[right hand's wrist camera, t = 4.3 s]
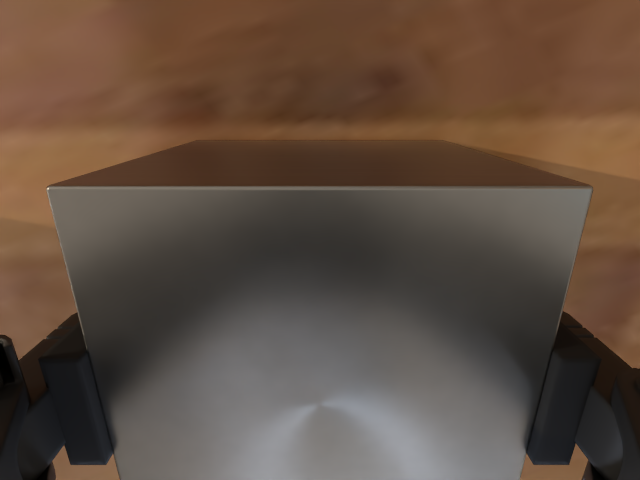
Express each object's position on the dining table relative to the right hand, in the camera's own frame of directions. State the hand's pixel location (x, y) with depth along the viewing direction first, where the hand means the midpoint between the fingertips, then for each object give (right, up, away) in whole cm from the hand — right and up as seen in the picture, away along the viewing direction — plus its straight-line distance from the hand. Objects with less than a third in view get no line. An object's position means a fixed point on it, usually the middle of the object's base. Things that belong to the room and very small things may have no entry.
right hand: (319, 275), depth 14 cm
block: (0, +1, +2) cm, 2 cm away
